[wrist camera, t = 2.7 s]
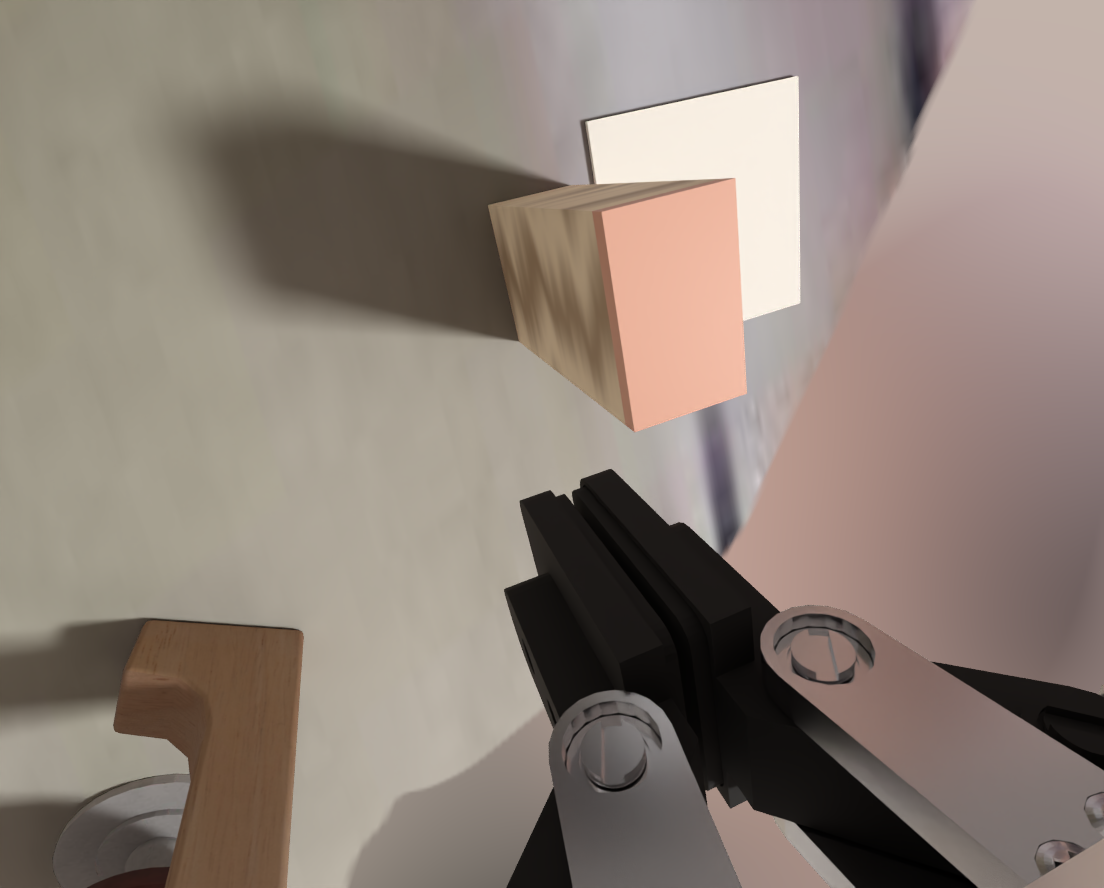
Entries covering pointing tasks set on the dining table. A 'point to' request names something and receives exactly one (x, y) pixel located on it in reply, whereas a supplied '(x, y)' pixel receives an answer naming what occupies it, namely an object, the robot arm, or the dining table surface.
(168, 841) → the mate gourd
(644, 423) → the ash block
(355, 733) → the dining table surface
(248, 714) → the wooden block
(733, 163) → the pad
